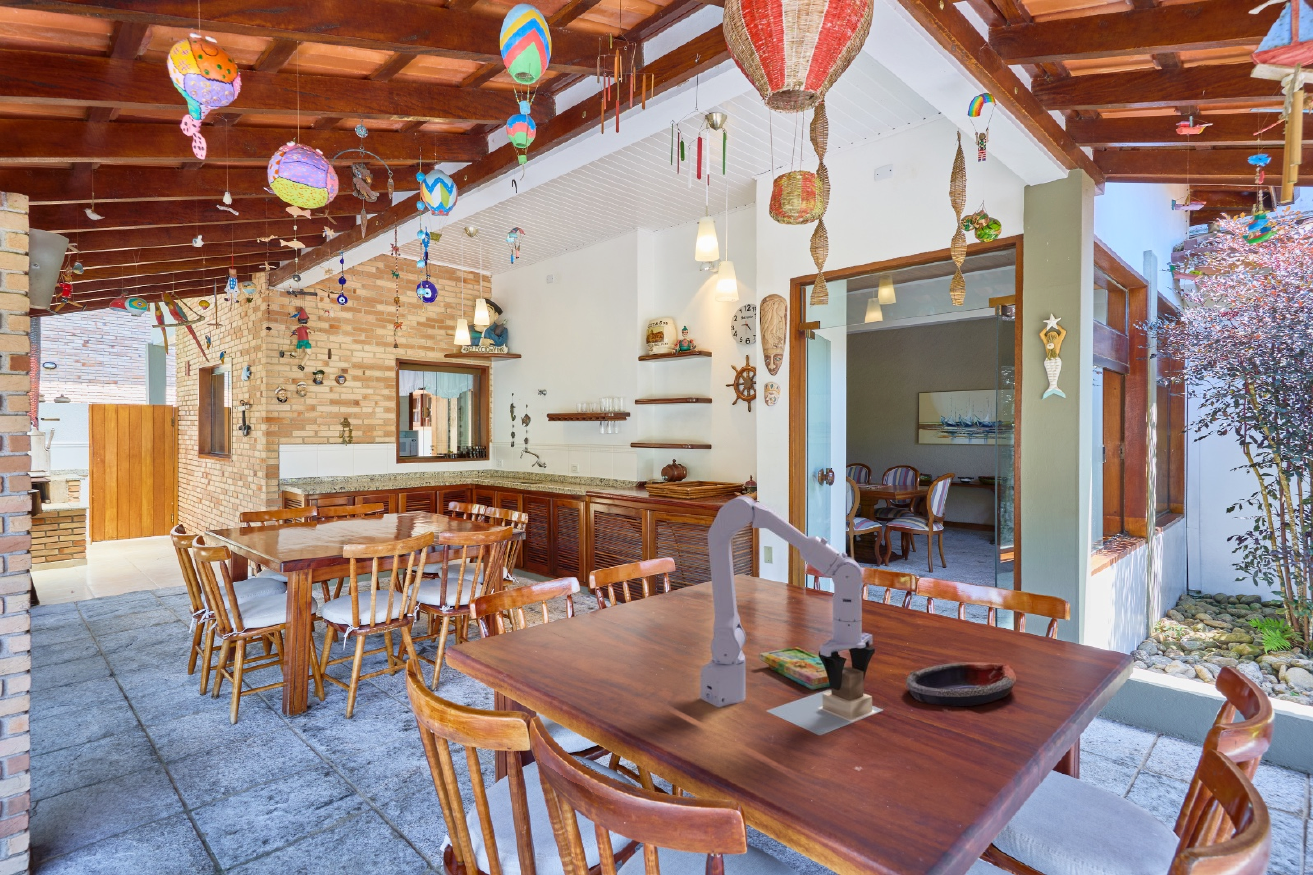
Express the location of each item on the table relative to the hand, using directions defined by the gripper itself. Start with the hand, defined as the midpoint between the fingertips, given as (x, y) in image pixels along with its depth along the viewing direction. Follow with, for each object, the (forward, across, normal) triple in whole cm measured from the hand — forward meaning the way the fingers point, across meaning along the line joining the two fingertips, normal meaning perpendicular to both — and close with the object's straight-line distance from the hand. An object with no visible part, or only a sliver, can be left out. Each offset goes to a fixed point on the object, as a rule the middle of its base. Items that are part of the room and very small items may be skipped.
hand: (847, 684), depth 135 cm
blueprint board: (+6, -4, +2) cm, 8 cm away
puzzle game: (+6, +10, +20) cm, 23 cm away
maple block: (+5, 0, 0) cm, 5 cm away
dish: (+6, +30, -9) cm, 32 cm away
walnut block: (+2, 0, 0) cm, 2 cm away
